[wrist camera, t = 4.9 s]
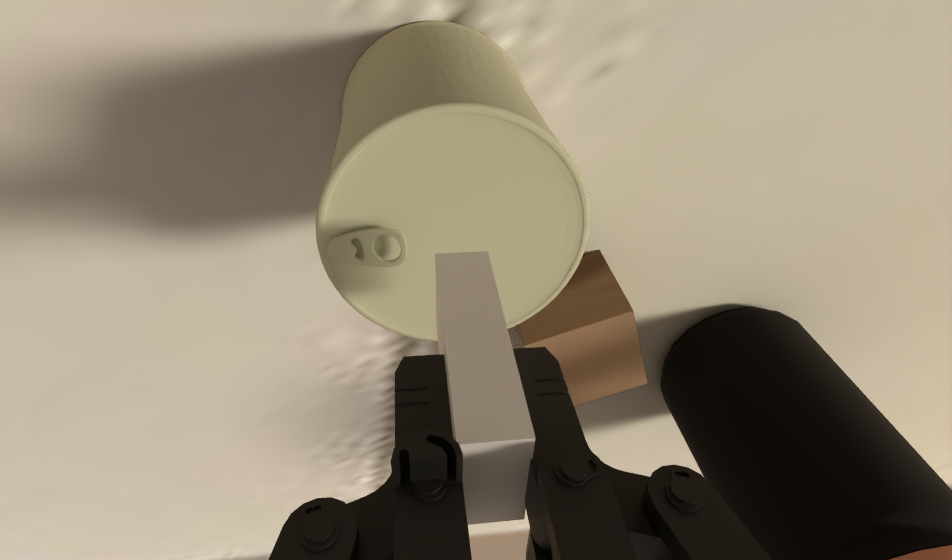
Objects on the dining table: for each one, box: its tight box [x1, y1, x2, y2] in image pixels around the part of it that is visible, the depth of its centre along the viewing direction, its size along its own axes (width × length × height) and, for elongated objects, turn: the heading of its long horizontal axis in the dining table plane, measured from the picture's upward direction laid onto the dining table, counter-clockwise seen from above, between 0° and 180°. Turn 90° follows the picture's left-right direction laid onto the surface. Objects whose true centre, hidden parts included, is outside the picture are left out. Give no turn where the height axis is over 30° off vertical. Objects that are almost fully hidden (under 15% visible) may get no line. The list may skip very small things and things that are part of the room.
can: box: [316, 21, 590, 341], centre depth 23 cm, size 9×9×12 cm
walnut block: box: [518, 250, 648, 406], centre depth 33 cm, size 6×6×6 cm
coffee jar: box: [661, 307, 952, 560], centre depth 33 cm, size 11×11×18 cm
